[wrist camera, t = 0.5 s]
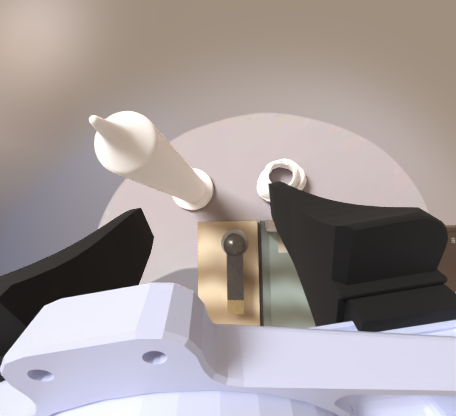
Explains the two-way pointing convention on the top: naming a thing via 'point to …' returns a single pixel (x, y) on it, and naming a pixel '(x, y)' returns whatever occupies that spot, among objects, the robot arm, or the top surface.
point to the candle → (149, 158)
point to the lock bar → (235, 273)
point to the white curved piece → (284, 163)
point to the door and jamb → (251, 277)
